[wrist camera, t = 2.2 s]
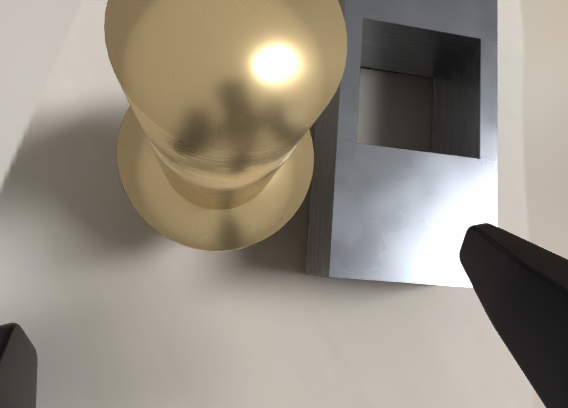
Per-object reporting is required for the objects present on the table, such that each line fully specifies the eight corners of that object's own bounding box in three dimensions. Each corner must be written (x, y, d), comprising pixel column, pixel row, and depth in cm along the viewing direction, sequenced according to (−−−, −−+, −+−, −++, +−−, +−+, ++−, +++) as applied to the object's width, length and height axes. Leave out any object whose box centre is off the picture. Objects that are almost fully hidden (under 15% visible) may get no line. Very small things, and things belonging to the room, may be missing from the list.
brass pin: (283, 259, 20) (416, 253, 7) (130, 247, 19) (-32, 214, 6) (293, 119, 21) (427, -104, 8) (149, 100, 20) (44, -193, 7)
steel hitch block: (443, 284, 21) (497, 289, 17) (305, 274, 20) (329, 277, 16) (448, 5, 23) (497, -47, 19) (324, -18, 22) (349, -79, 18)
